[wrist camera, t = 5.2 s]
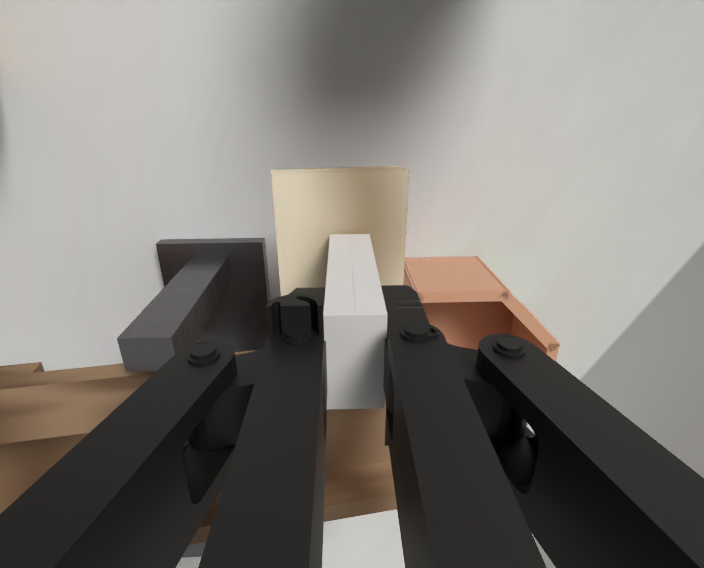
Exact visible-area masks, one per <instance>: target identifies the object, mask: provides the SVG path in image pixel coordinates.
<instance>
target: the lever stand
mask: <svg viewBox="0 0 704 568" xmlns="http://www.w3.org/2000/svg"><path fill="white" fill-rule="evenodd" d="M156 246H157V251H158V256H159V261H160V266H161V271H162V276H163V281H164V286H165V287H164V288H163V289H162V291H161V292H160V293H159V294H158V295H157V296H156V297H155V298H154V299H153V300H152V301H151V302H150V303H149V305H148V306H147V307H146V308H145V309H144V310H143V311H142V312H141V313H140V314H139V315H138V316H137V318H136V319H135V320H134V321H133V322H132V323H131V324H130V325H129V326H128V327H127V328H126V329H125V330H124V332H123V333H122V334H121V335H120V336H119V337H118V338H117V340H118V344H119V348H120V351H121V355H122V359H123V363H124V366H125V370H126V372H142V371H157V370H159V369H160V368H161V367H162V366H163V365H164V364H165V363H166V362H167V361H168V360H169V359H171V358H172V357H173V356H174V355H175V354H176V353H177V352H179V351H180V350H182V349H183V348H185V347H186V346H189V345H192V344H194V343H196V342H200V341H202V342H203V341H206V340H211V341H222V342H226V343H229V344H230V345H231V346H232V347H233V348H234V352H242V351H252V350H259V349H261V348H263V347H265V346H266V344H267V341H268V328H267V317H266V307H265V306H266V305H267V304H268V303H269V301H270V292H269V281H268V270H267V260H266V249H265V238H235V239H170V240H160V241H159V242H158V243H156ZM205 544H206V542H205V543H199V544H193V545H189V546H188V547H187V549H186V551H185V552H184V554H183V556H182V557H201V556H202V554H203V551H204V548H205Z"/></svg>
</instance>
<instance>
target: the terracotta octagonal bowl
mask: <svg viewBox="0 0 704 568" xmlns="http://www.w3.org/2000/svg"><path fill="white" fill-rule="evenodd" d="M403 285H408V286H409V287H411V288H412V289H414V290H415V291H416V292H417V294H418V296H419V298H420V301H421V303H422V306H423V308H424V311H425V313H426V316H427V318H428V321H429V323H430V325H433V326H435V327H436V328H438V329H440V331H441V332H442V333H443V334H444V336H445V339H446V341H447V343H449V344H452V345H455V346H459V347H464V348H470V349H476V350H478V347H479V341H480V340H481V339H482V338H484V337H486V336H489V335H492V334H508V335H509V334H510V335H515V336H517V337H520V338H523V339H525V340H527V341H529V342H531V343H532V344H534V345H535V346H537V347H538V348H539V349H540V350H542V351H543V352H544V353H545V354H547V355H548V356H549V357H551V358H552V359H553V360H554V361H556V357H557V353H558V348H559V346H560V345H559V344H560V343H559V342H558V341H557V340H556V339H555V338H554V337H553V336H552V335H551V334H550V333H549V332H548V331H547V329H546V328H545V327H544V326H543V325H542V324H541V323H540V322H539V321H538V320H537V319H536V318H535V317H534V316H533V315H532V313H531V312H530V311H529V310H528V309H527V308H526V307H525V306H524V305H523V304H522V303H520V302H519V301H518V300H517V299H516V298H515V297H514V296H513V295H512V293H511V292H510V290H509V289H508V288H507V287H506V286H505V285H504V284H503V283H502V282H501V281H500V280H499V279H498V277H497V276H496V275H495V274H494V273H493V272H492V271H491V270H490V269H489V268H488V267H487V266H486V265H485V264H484V262H483V261H482V260H481V259H480V258H479V257H477V256H475V257H434V258H405V260H404V281H403ZM527 425H528V423H527Z"/></svg>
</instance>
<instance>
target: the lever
mask: <svg viewBox="0 0 704 568" xmlns="http://www.w3.org/2000/svg"><path fill="white" fill-rule="evenodd" d="M271 178H272V191H273V203H274V216H275V228H276V241H277V253H278V266H279V278H280V291H281V296H284V295H288V294H290V293H291V292H292V291H293V290H294V289H296V288H322V287H326V276H327V264H328V252H329V240H330V234H370V238H371V243H372V247H373V252H374V256H375V261H376V265H377V270H378V274H379V279H380V283H381V285H403V281H404V260H405V240H406V219H407V199H408V179H409V170H407V169H405V168H403V167H401V166H378V167H345V168H313V169H281V170H271ZM252 351H256V350H252ZM252 351H242V352H235V355H238V354H243V353H248V352H252ZM155 372H156V371H142V372H126V370H125V366H124V364H115V365H105V366H95V367H85V368H76V369H66V370H56V371H46V372H44V369H43V366H42V363H41V362H38V363H28V364H18V365H8V366H0V514H1V513H2V512H3V511H4V510H5V509H6V508H7V507H8V506H10V505H11V504H12V503H13V502H14V501H15V500H16V499H17V498H18V497H19V496H20V495H22V494H23V493H24V492H25V491H26V490H27V489H28V488H29V487H30V486H31V485H33V484H34V483H35V482H36V481H37V480H38V479H39V478H40V477H41V476H42V475H43V474H45V473H46V472H47V471H48V470H49V469H50V468H51V467H52V466H53V465H54V464H56V463H57V462H58V461H59V460H60V459H61V458H62V457H63V456H64V455H65V454H66V453H68V452H69V451H70V450H71V449H72V448H73V447H74V446H75V445H76V444H77V443H79V442H80V441H81V440H82V439H83V438H84V437H85V436H86V435H87V434H88V433H89V432H91V431H92V430H93V429H94V428H95V427H96V426H97V425H98V424H99V423H100V422H102V421H103V420H104V419H105V418H106V417H107V416H108V415H109V414H110V413H111V412H112V411H114V410H115V409H116V408H117V407H118V406H119V405H120V404H121V403H122V402H123V401H125V400H126V399H127V398H128V397H129V396H130V395H131V394H132V393H133V392H134V391H136V390H137V389H138V388H139V387H140V386H141V385H142V384H143V383H144V382H145V381H146V380H148V379H149V378H150V377H151V376H152V375H153V374H154V373H155ZM385 420H386V401H385V404H384V408H376V409H327V442H326V468H325V494H324V520H323V522H325V521H331V520H337V519H342V518H348V517H354V516H360V515H365V514H371V513H377V512H383V511H388V510H394V509H397V503H396V496H395V488H394V481H393V474H392V466H391V459H390V452H389V446H385ZM222 489H223V488H222ZM221 492H222V490H221V491H220V493H219V495H218V497H217V498H216V500H215V502H214V503H213V505H212V507H211V508H210V510H209V512H208V513H207V515H206V517H205V519H204V520H203V522H202V524H201V525H200V527H199V529H198V530H197V532H196V534H195V535H194V537H193V539H192V541H191V542H190V544H189V545H193V544H199V543H205V542H206V541H207V538H208V535H209V531H210V528H211V525H212V521H213V518H214V515H215V512H216V508H217V505H218V502H219V498H220V495H221Z"/></svg>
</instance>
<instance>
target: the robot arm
mask: <svg viewBox="0 0 704 568" xmlns="http://www.w3.org/2000/svg"><path fill="white" fill-rule="evenodd" d="M265 307H266V317H267V328H268V341H267V344H266V346H265V347H263V348H261V349H259V350H256V351H252V352H248V353H243V354H238V355H235V352H234V348H233V347H232V346H231V345H230V344H229V343H226V342H222V341H211V340H206V341H203V342H202V341H200V342H196V343H194V344H192V345H189V346H186V347H185V348H183V349H182V350H180V351H179V352H177V353H176V354H175V355H174V356H173V357H172V358H171V359H169V360H168V361H167V362H166V363H165V364H164V365H163V366H162V367H161V368H160V369H159V370H157V371H156V372H155V373H154V374H153V375H152V376H151V377H150V378H149V379H148V380H146V381H145V382H144V383H143V384H142V385H141V386H140V387H139V388H138V389H137V390H136V391H134V392H133V393H132V394H131V395H130V396H129V397H128V398H127V399H126V400H125V401H123V402H122V403H121V404H120V405H119V406H118V407H117V408H116V409H115V410H114V411H112V412H111V413H110V414H109V415H108V416H107V417H106V418H105V419H104V420H103V421H102V422H100V423H99V424H98V425H97V426H96V427H95V428H94V429H93V430H92V431H91V432H89V433H88V434H87V435H86V436H85V437H84V438H83V439H82V440H81V441H80V442H79V443H77V444H76V445H75V446H74V447H73V448H72V449H71V450H70V451H69V452H68V453H66V454H65V455H64V456H63V457H62V458H61V459H60V460H59V461H58V462H57V463H56V464H54V465H53V466H52V467H51V468H50V469H49V470H48V471H47V472H46V473H45V474H43V475H42V476H41V477H40V478H39V479H38V480H37V481H36V482H35V483H34V484H33V485H31V486H30V487H29V488H28V489H27V490H26V491H25V492H24V493H23V494H22V495H20V496H19V497H18V498H17V499H16V500H15V501H14V502H13V503H12V504H11V505H10V506H8V507H7V508H6V509H5V510H4V511H3V512H2V513H1V514H0V568H176V566H177V564H178V562H179V561H180V559H181V557H182V556H183V554H184V552H185V551H186V549H187V547H188V546H189V544H190V542H191V541H192V539H193V537H194V535H195V534H196V532H197V530H198V529H199V527H200V525H201V524H202V522H203V520H204V519H205V517H206V515H207V513H208V512H209V510H210V508H211V507H212V505H213V503H214V502H215V500H216V498H217V497H218V495H219V493H220V491H221V490H222V492H221V495H220V498H219V502H218V505H217V508H216V512H215V515H214V518H213V521H212V525H211V528H210V531H209V535H208V538H207V541H206V544H205V548H204V551H203V554H202V558H201V561H200V564H199V567H198V568H322V547H323V520H324V494H325V468H326V442H327V409H376V408H384V404H385V401H386V420H385V446H389V452H390V459H391V466H392V474H393V481H394V488H395V496H396V503H397V510H398V518H399V525H400V532H401V540H402V547H403V554H404V562H405V568H546V565H545V563H544V561H543V559H542V556H541V554H540V552H539V549H538V547H537V545H536V543H535V540H534V538H533V536H532V534H533V535H534V537H535V538H536V539H537V541H538V542H539V544H540V545H541V547H542V548H543V550H544V551H545V552H546V554H547V555H548V557H549V558H550V559H551V561H552V562H553V564H554V565H555V567H556V568H704V478H702V477H701V476H700V475H699V474H697V473H696V472H695V471H694V470H692V469H691V468H690V467H688V466H687V465H686V464H685V463H683V462H682V461H681V460H680V459H678V458H677V457H676V456H675V455H673V454H672V453H671V452H669V451H668V450H667V449H666V448H664V447H663V446H662V445H661V444H659V443H658V442H657V441H656V440H654V439H653V438H652V437H650V436H649V435H648V434H647V433H645V432H644V431H643V430H642V429H640V428H639V427H638V426H636V425H635V424H634V423H633V422H632V421H630V420H629V419H628V418H626V417H625V416H624V415H622V414H621V413H620V412H619V411H618V410H616V409H615V408H614V407H612V406H611V405H610V404H609V403H607V402H606V401H605V400H604V399H602V398H601V397H600V396H599V395H597V394H596V393H595V392H594V391H592V390H591V389H590V388H588V387H587V386H586V385H585V384H583V383H582V382H581V381H580V380H578V379H577V378H576V377H575V376H573V375H572V374H571V373H569V372H568V371H567V370H566V369H564V368H563V367H562V366H561V365H559V364H558V363H557V362H556V361H554V360H553V359H552V358H551V357H549V356H548V355H547V354H545V353H544V352H543V351H542V350H540V349H539V348H538V347H537V346H535V345H534V344H532V343H531V342H529V341H527V340H525V339H523V338H520V337H517V336H515V335H510V334H509V335H508V334H492V335H489V336H486V337H484V338H482V339H481V340H480V341H479V347H478V350H476V349H470V348H464V347H459V346H455V345H452V344H449V343H447V341H446V339H445V336H444V334H443V333H442V332H441V331H440V329H438V328H436V327H435V326H433V325H430V323H429V321H428V318H427V316H426V313H425V311H424V308H423V306H422V303H421V301H420V298H419V296H418V294H417V292H416V291H415V290H414V289H412V288H411V287H409V286H408V285H381V283H380V279H379V274H378V270H377V265H376V261H375V256H374V252H373V247H372V243H371V238H370V234H330V240H329V252H328V264H327V276H326V287H322V288H296V289H294V290H293V291H292V292H291V293H290V294H288V295H284V296H281V297H277V298H275V299H273V300H271V301H269V303H268V304H267V305H266V306H265ZM527 423H528V424H529V425H530V426H531V428H532V429H533V431H534V433H535V434H533V433H532V432H531V431H530V430H529V429H528V428H527V426H526V425H527ZM222 488H223V489H222ZM531 533H532V534H531Z"/></svg>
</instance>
